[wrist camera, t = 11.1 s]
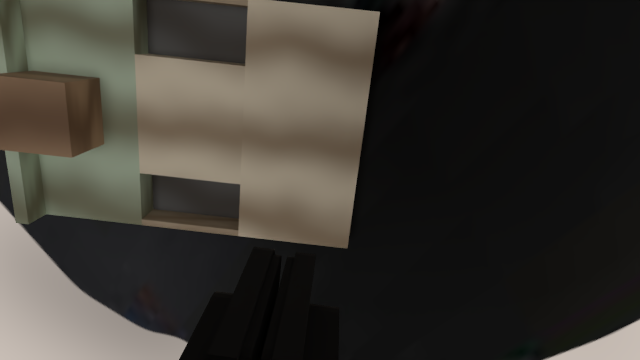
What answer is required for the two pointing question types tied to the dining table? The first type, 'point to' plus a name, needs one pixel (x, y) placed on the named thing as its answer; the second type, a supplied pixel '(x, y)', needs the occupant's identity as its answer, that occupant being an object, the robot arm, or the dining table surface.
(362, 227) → the dining table surface
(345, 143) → the board
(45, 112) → the walnut block
